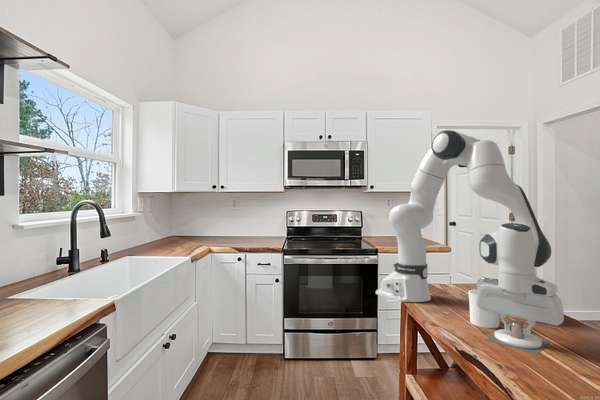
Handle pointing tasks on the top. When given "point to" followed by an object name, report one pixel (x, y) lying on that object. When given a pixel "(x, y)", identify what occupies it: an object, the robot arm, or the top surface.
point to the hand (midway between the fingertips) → (517, 332)
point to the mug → (481, 313)
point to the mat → (535, 351)
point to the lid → (518, 337)
